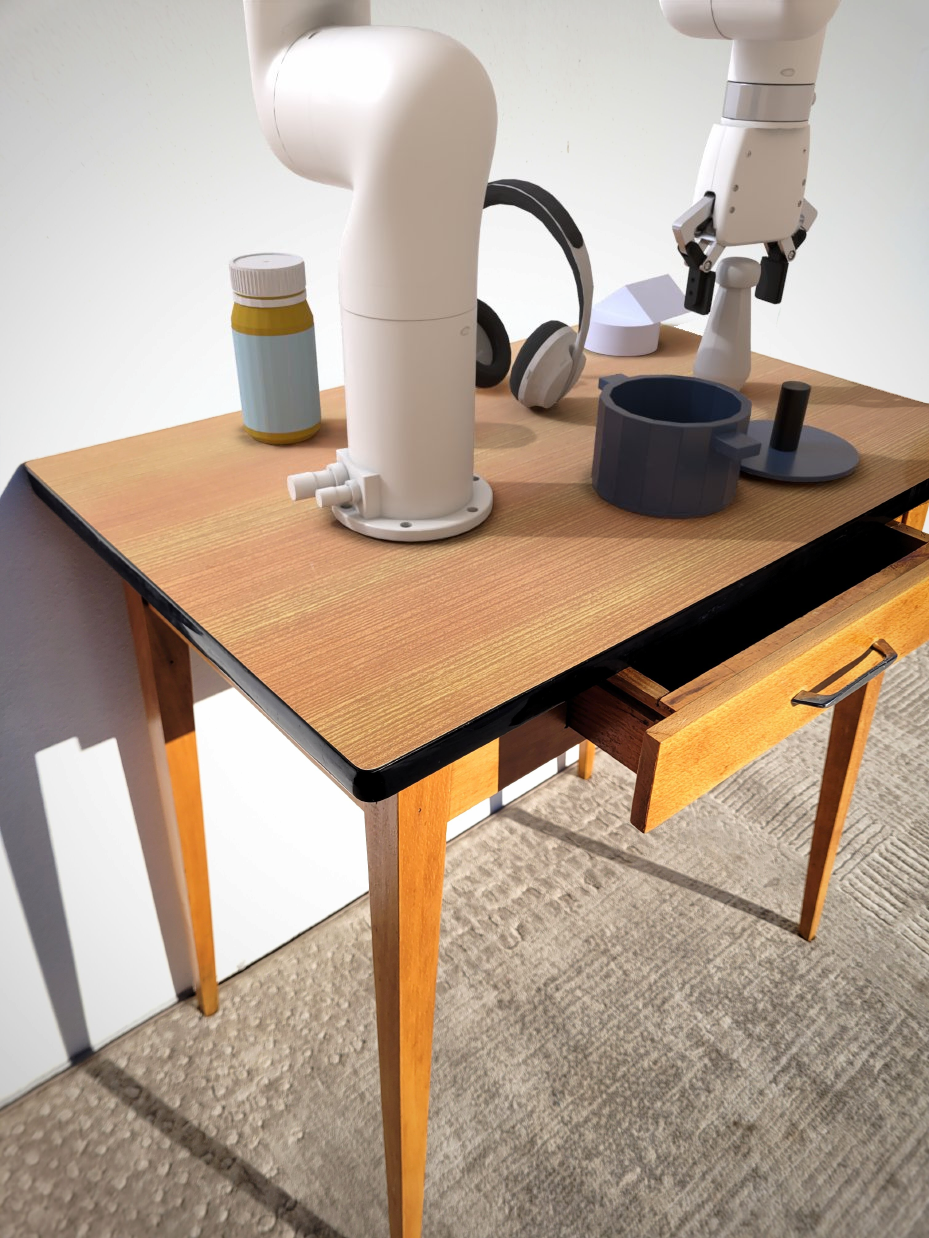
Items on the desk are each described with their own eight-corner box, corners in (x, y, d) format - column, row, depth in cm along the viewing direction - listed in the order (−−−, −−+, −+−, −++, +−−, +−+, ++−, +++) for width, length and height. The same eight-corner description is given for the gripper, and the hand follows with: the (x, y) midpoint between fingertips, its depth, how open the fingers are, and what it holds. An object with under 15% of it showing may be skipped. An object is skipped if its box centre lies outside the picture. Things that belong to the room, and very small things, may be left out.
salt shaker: (742, 382, 98) (766, 253, 91) (751, 401, 93) (777, 267, 86) (686, 379, 98) (706, 251, 91) (692, 398, 94) (713, 264, 86)
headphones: (606, 411, 90) (629, 188, 79) (549, 434, 85) (565, 199, 74) (467, 365, 101) (470, 164, 90) (410, 382, 96) (406, 172, 85)
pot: (672, 546, 67) (688, 450, 63) (547, 461, 80) (553, 377, 76) (789, 514, 72) (810, 423, 68) (654, 438, 85) (665, 357, 80)
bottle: (302, 412, 89) (287, 248, 80) (335, 436, 84) (323, 264, 75) (233, 426, 85) (211, 256, 77) (263, 452, 81) (242, 274, 72)
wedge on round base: (631, 322, 116) (564, 343, 108) (637, 267, 112) (569, 284, 105) (691, 338, 111) (626, 361, 103) (700, 280, 107) (633, 300, 99)
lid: (779, 500, 74) (797, 422, 70) (678, 445, 83) (689, 373, 80) (888, 471, 79) (909, 397, 76) (781, 422, 88) (796, 354, 85)
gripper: (806, 100, 88) (770, 288, 97) (662, 105, 81) (638, 307, 90) (869, 107, 82) (824, 305, 92) (719, 113, 75) (688, 327, 85)
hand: (732, 305), depth 91 cm, fingers open, 8 cm apart
